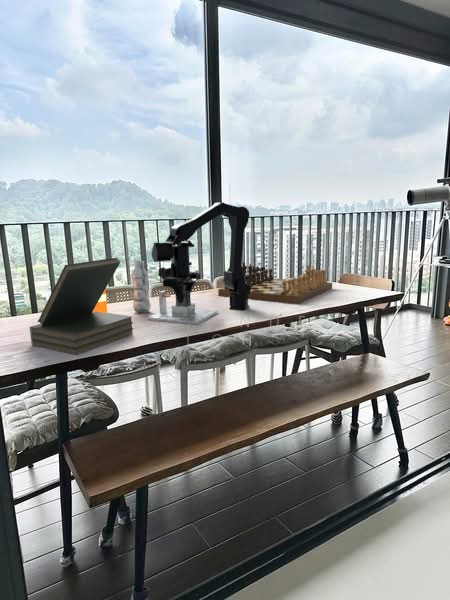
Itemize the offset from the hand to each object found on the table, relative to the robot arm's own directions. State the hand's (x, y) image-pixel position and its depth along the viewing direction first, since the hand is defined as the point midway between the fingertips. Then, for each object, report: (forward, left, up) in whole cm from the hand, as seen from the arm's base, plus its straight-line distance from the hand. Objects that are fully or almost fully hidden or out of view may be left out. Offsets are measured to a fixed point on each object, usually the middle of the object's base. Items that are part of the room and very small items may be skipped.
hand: (183, 301), depth 155 cm
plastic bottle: (+19, -1, -6) cm, 20 cm away
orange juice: (+34, +10, -6) cm, 36 cm away
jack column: (0, 0, -4) cm, 4 cm away
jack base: (0, 0, -6) cm, 6 cm away
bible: (+16, +36, -6) cm, 40 cm away
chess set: (-20, -56, -6) cm, 60 cm away
